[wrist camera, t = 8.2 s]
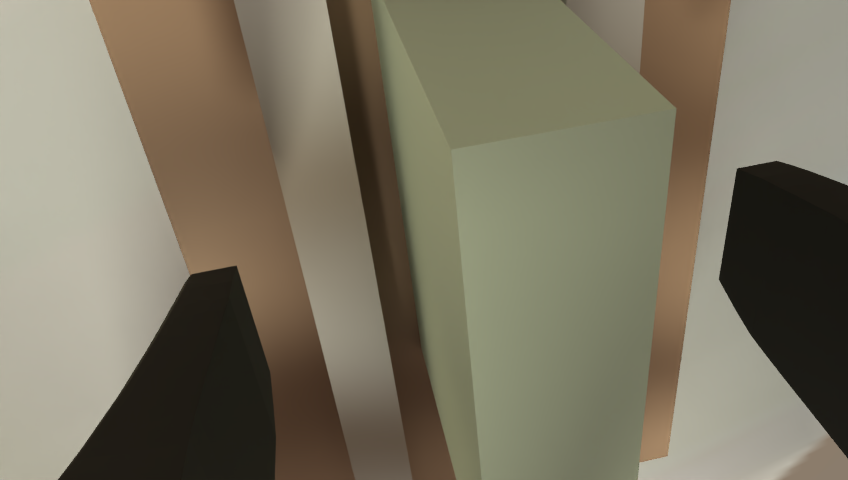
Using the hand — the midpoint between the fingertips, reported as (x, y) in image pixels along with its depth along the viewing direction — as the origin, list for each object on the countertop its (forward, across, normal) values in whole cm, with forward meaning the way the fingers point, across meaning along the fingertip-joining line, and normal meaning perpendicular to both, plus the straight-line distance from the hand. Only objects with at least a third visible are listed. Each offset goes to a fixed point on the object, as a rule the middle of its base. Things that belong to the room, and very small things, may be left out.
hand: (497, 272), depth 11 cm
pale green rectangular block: (+3, 0, 0) cm, 3 cm away
